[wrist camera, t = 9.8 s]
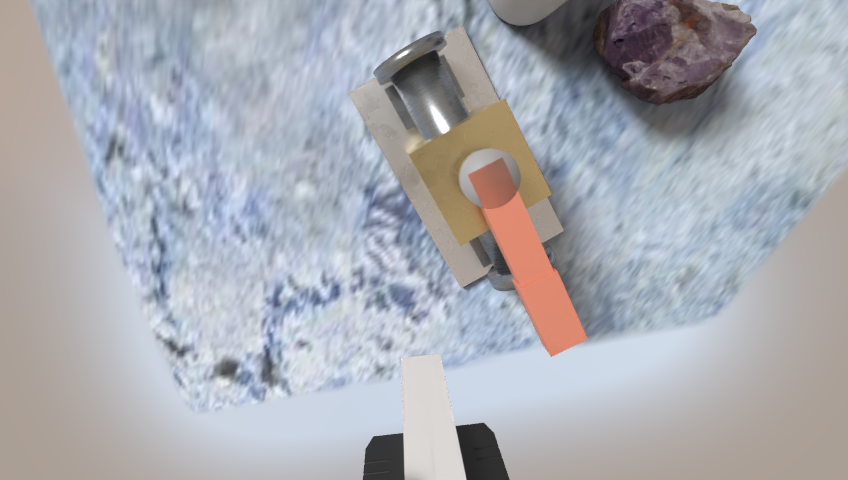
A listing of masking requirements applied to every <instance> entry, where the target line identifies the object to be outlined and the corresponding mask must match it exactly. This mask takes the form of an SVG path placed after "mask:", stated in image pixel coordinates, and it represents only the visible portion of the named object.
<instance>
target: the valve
mask: <svg viewBox="0 0 848 480" xmlns="http://www.w3.org/2000/svg"><path fill="white" fill-rule="evenodd" d="M373 74H374V76H375V78H373V79H372V80H370V81H368V82H367V83H365V84H363V85H362V86H360V87H358V88H357V89H355V90H353V91H352V92H350V93H348V94H349V96H350V98H351V99H352V101H353V103H354V104H355V106H356V108H357V110H358V111H359V113H360V115H361V116H362V118H363V120H364V122H365V123H366V125H367V127H368V129H369V130H370V132H371V134H372V135H373V137H374V139H375V141H376V142H377V144H378V146H379V147H380V149H381V151H382V153H383V154H384V156H385V158H386V159H387V161H388V163H389V165H390V166H391V168H392V170H393V171H394V173H395V175H396V177H397V178H398V180H399V182H400V184H401V185H402V187H403V189H404V190H405V192H406V194H407V196H408V197H409V199H410V201H411V202H412V204H413V206H414V208H415V209H416V211H417V213H418V214H419V216H420V218H421V220H422V221H423V223H424V225H425V227H426V228H427V230H428V232H429V233H430V235H431V237H432V239H433V240H434V242H435V244H436V245H437V247H438V249H439V251H440V252H441V254H442V256H443V257H444V259H445V261H446V263H447V264H448V266H449V268H450V269H451V271H452V273H453V275H454V276H455V278H456V280H457V282H458V283H459V285H460V287H461V288H463V287H464V286H466V285H468V284H470V283H471V282H473V281H475V280H477V279H479V278H480V277H482V276H484V275H486V274H487V277H488V279H489V281H490V283H491V284H492V286H493V288H494V289H496V290H499V291H509V290H514V289H516V288H515V286H514V284H513V282H512V280H514V278H513V275H512V273H511V271H510V269H509V267H508V265H507V263H506V261H505V259H504V257H503V254H502V252H501V250H500V248H499V246H498V244H497V242H496V240H495V238H494V235H493V233H492V231H491V229H490V227H489V225H488V223H487V221H486V219H485V217H484V214H483V212H482V210H481V208H480V207H479V206H477V205H475V204H474V203H472V202H471V201H470V200H469V199H468V198H467V197H466V196H465V195H464V194H463V193H462V191H461V189H460V186H459V182H458V173H459V169H460V166H461V164H462V162H463V161H464V159H465V158H466V157H467V156H468V155H469V154H471V153H472V152H474V151H476V150H479V149H483V148H491V149H498V150H502V151H504V152H506V153H508V154H509V155H511V156H512V157H513V158H514V160H515V161H516V162H517V164H518V166H519V169H520V174H521V181H520V186H519V189H518V192H519V194H520V197H521V199H522V201H523V203H524V205H525V208H526V210H527V212H528V214H529V217H530V219H531V221H532V223H533V226H534V228H535V230H536V232H537V235H538V237H539V239H540V241H541V243H542V246H543V248H544V250H545V252H546V255H547V257H548V259H549V261H550V264H551V266H552V267H553V265H554V263H555V261H556V256H555V254H554V252H553V250H552V248H551V247H550V245H549V244H546V243H543V242H545V241H547V240H549V239H550V238H552V237H554V236H556V235H558V234H559V233H561V232H563V231H564V230H563V228H562V226H561V224H560V222H559V220H558V218H557V216H556V214H555V212H554V210H553V208H552V206H551V204H550V202H549V200H548V197H549V196H550V195H552V193H551V191H550V189H549V187H548V185H547V183H546V181H545V179H544V177H543V175H542V173H541V171H540V169H539V167H538V165H537V163H536V161H535V159H534V157H533V155H532V153H531V151H530V148H529V146H528V144H527V142H526V140H525V138H524V136H523V134H522V132H521V130H520V128H519V126H518V124H517V122H516V120H515V118H514V116H513V114H512V112H511V110H510V108H509V106H508V104H507V102H506V100H505V99H502V100H499V98H498V96H497V94H496V92H495V90H494V88H493V86H492V84H491V82H490V80H489V78H488V76H487V74H486V72H485V70H484V68H483V66H482V64H481V62H480V60H479V58H478V56H477V54H476V52H475V50H474V48H473V46H472V44H471V42H470V40H469V38H468V36H467V34H466V32H465V30H464V28H463V26H460V27H458V28H457V29H455V30H453V31H452V32H450V33H448V34H447V35H445V36H443V34H442V32H441V31H436V32H433V33H431V34H429V35H426V36H424V37H422V38H420V39H419V40H417V41H415V42H413V43H411V44H410V45H408V46H406V47H405V48H403V49H402V50H400V51H399V52H397V53H396V54H394V55H393V56H391V57H390V58H388V59H387V60H386V61H385V62H383V63H382V64H381V65H380V66H379V67H377V68H376V70H375V71H374V72H373Z"/></svg>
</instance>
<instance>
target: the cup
mask: <svg viewBox="0 0 848 480" xmlns="http://www.w3.org/2000/svg"><path fill="white" fill-rule="evenodd" d="M566 1H568V0H488V2H489V4H490V6H491V8H492V10H493V11H494V12H495V13H496V14H497V15H498V17H499V18H501V19H503V20H504V21H506V22H507V23H510V24H514V25H517V26H522V25H530V24H534V23H537V22H539V21H540V20H542V19H544V18H545V17H547V16H548V15H550V14H551V13H552V12H553V11H555V10H556V9H557V8H559V7H560V6H561V5H562V4H564V3H565V2H566Z"/></svg>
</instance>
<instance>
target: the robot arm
mask: <svg viewBox="0 0 848 480" xmlns="http://www.w3.org/2000/svg"><path fill="white" fill-rule="evenodd" d="M401 367H402V399H403V400H402V402H403V433H401V434H391V435H383V436H374V437H373V438H372V440H371V441H370V443H369V445H368V446H367V448H366V453H365V465H364V476H363V480H509V477H508V474H507V471H506V468H505V465H504V462H503V459H502V456H501V453H500V450H499V448H498V444H497V441H496V438H495V435H494V433H493V432H492V431H491V430H490V429H489V428H488V427H487V426H486V425H485V424H484V423H479V424H471V425H461V426H455V422H454V418H453V412H452V408H451V403H450V398H449V393H448V388H447V384H446V379H445V374H444V369H443V364H442V359H441V355H440V354H435V355H425V356H416V357H406V358H401Z"/></svg>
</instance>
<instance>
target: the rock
mask: <svg viewBox="0 0 848 480" xmlns="http://www.w3.org/2000/svg"><path fill="white" fill-rule="evenodd" d="M750 22H751V16H750V15H747V14H745V13H743V12H742V11H740V9H739V8H738V6H735V5H728V4H723V3H719V2H710V1H707V0H617V1H616V2H615V3H613V4H611V5H610V6H609V7H608V8H606V9H605V10H603V11H601V13H600V15H599V17H598V22H597V25H596V27H595V31H594V47H595V49H596V50H597V51H598V52H599V54H600V55H601V57H602V59H603V60H604V62H606V65H607V66H608V67H609V68H610V70H611V72H613V73H615V74H617V75H618V76H619V77H620V78H621V79H622V81H623V82H622V83H621V87H622V88H623V89H625V90H628V91H630V92H631V93H632V94H633V95H635V96H636V97H637V98H638V99H640V100H642V101H646V102H648V103H652V104H655V105H657V106H659V105H661V104H663V103H672V102H675V101H678V100H683V99H692V98H696V97H697V96H699V95H700V94H702V93H703V92H704V91H705V90H706V89H707V88H708V87H709V86H710V85H712V84H713V83H714V82H715V81H716V80H717V79H718V78H719V76H720V75H721V74H722V73H723V72H724V71H725V70H726V69H727V68H729V67H730V66H732V62H733V61H734V60H735V59H736V58H737V57H738V55H739V54H740V53H741V51H742V49H743V48H744V47H745V46H746V45H747V43H748V42H749V40H750V39H751V38H752V37H753V36H754V35H755V34H756V31H757V29H756V28H755V26H754V25H752V24H751V23H750Z"/></svg>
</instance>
